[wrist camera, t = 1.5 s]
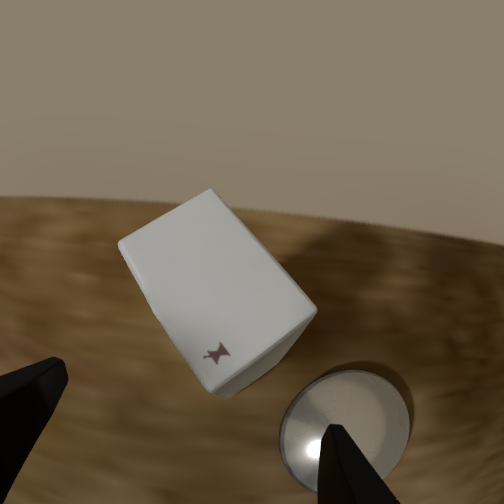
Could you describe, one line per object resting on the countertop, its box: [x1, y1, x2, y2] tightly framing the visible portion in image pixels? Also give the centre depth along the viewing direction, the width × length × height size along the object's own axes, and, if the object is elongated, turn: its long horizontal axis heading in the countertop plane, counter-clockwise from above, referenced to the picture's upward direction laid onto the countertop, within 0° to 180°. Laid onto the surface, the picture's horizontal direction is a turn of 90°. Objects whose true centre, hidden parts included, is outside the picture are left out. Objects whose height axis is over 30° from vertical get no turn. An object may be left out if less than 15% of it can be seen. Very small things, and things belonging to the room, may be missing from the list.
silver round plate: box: [279, 370, 410, 493], centre depth 17 cm, size 9×9×1 cm
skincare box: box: [118, 188, 317, 398], centre depth 15 cm, size 6×4×12 cm
